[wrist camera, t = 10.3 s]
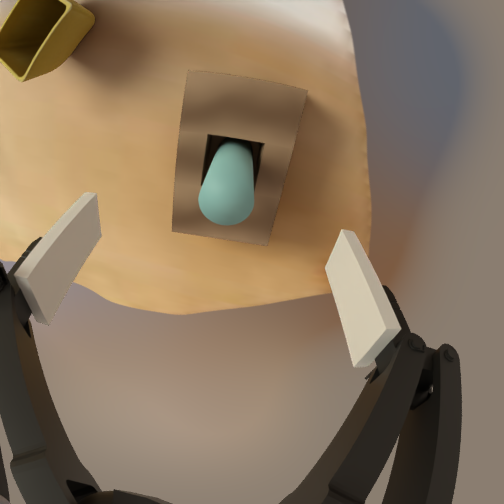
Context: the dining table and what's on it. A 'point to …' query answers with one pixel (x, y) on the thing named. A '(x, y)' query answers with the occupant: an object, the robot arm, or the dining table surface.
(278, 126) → the block
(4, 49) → the flower pot
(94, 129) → the dining table surface
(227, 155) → the pin
